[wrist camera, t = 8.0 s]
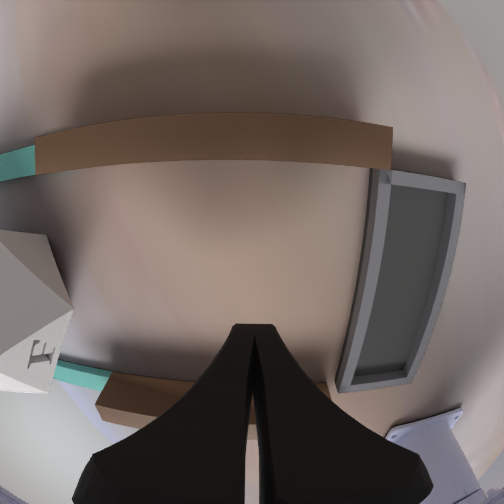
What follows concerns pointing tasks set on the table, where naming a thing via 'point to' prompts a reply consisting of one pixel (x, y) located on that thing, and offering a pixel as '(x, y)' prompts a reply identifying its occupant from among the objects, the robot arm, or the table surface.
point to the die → (30, 312)
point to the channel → (204, 148)
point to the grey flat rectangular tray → (400, 277)
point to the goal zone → (93, 378)
